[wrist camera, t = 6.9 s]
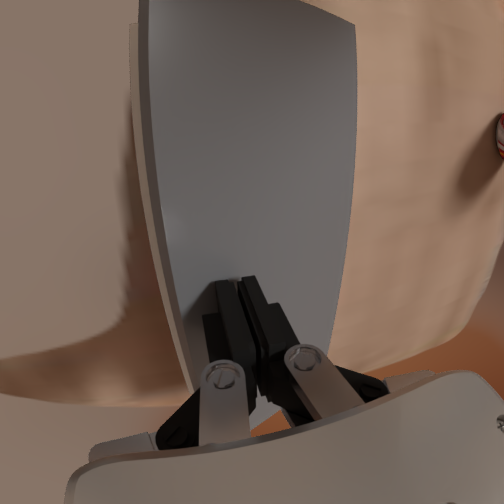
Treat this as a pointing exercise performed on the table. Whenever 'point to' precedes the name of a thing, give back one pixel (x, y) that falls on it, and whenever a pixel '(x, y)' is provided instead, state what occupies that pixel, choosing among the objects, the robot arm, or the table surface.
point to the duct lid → (249, 158)
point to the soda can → (500, 136)
